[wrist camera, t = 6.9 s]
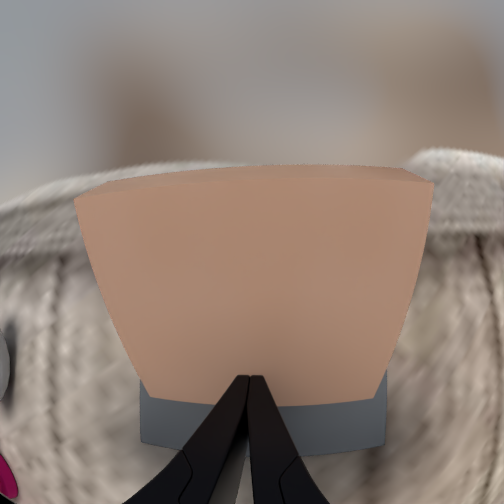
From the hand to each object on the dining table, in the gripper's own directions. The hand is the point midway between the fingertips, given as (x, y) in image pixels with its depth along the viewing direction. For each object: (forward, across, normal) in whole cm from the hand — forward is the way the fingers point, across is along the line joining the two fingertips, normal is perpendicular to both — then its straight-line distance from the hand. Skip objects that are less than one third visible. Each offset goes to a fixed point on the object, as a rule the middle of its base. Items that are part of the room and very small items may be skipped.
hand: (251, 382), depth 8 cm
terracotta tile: (+4, 0, +5) cm, 6 cm away
